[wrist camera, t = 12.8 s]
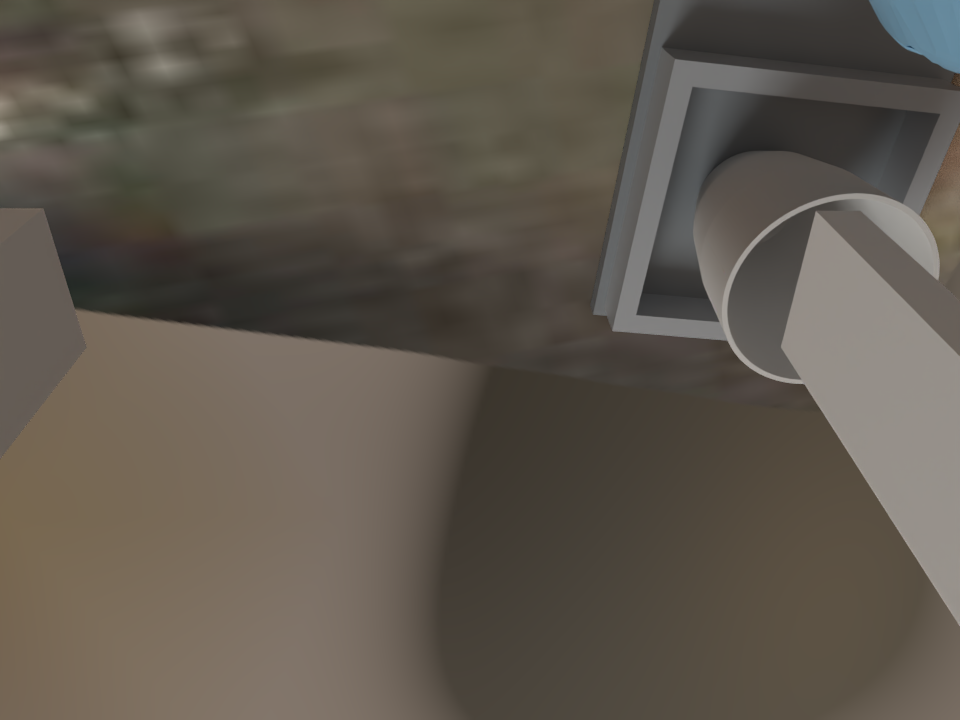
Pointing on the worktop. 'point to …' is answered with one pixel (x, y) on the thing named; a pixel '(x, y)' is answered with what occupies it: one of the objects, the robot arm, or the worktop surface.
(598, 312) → the dish rack
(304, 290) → the worktop surface
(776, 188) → the cup
